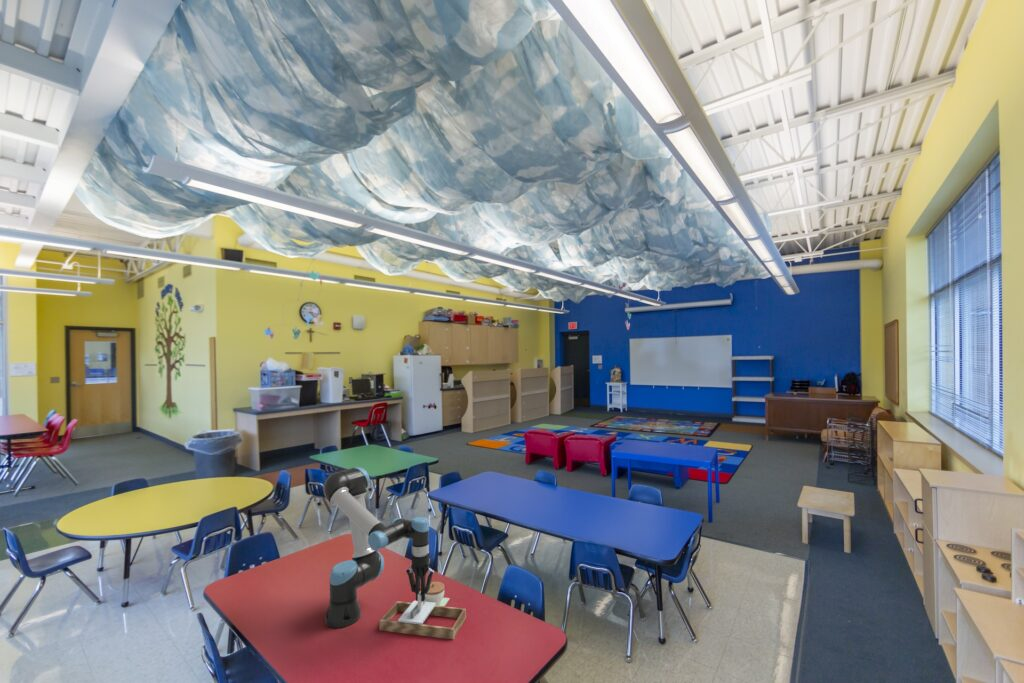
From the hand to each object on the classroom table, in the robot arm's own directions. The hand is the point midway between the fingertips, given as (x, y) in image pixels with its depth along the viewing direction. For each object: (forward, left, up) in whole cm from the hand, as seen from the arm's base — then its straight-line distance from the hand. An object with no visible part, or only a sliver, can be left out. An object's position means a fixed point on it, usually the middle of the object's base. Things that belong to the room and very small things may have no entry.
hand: (420, 608), depth 193 cm
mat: (0, +15, -7) cm, 17 cm away
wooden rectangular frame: (+2, 0, -7) cm, 7 cm away
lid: (-1, 0, -2) cm, 3 cm away
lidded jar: (0, +15, -6) cm, 17 cm away
